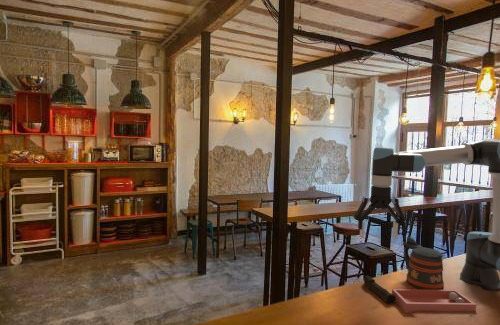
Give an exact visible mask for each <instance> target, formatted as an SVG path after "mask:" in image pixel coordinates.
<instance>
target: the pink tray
mask: <svg viewBox="0 0 500 325" xmlns="http://www.w3.org/2000/svg"><path fill="white" fill-rule="evenodd" d="M451 292H454V293H456V294H457V295H458V298H462V299H463V300H464V302H465V303H456V302H455V301H452V300H450V299H449V293H451ZM391 294H393V295H395V296H396V299H395V302H394V303H396V305H398V306H399V307H400V308H401V309H402V311H404V313H406V314H416V312H415V311H423V312H424V311H426V312H427V311H429V312H430V311H432V312H433V311H434V312H435V311H437V312H442V311H443V312H455V311H456V312H477V304H476V303H475V302H474V301H472V300H470V299H469V298H468V297H467V296H466V295H464V294H462V293H461V292H459V291H458V290H456V289H444V290H426V289H411V288H409V289H408V288H405V289H404V288H392V289H391Z"/></svg>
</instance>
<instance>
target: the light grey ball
mask: <svg viewBox="0 0 500 325" xmlns="http://www.w3.org/2000/svg"><path fill="white" fill-rule="evenodd" d="M456 298H458V295H457V294H456V293H454V292H451V293H449V299H450V300H452V301H455V300H456Z"/></svg>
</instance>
